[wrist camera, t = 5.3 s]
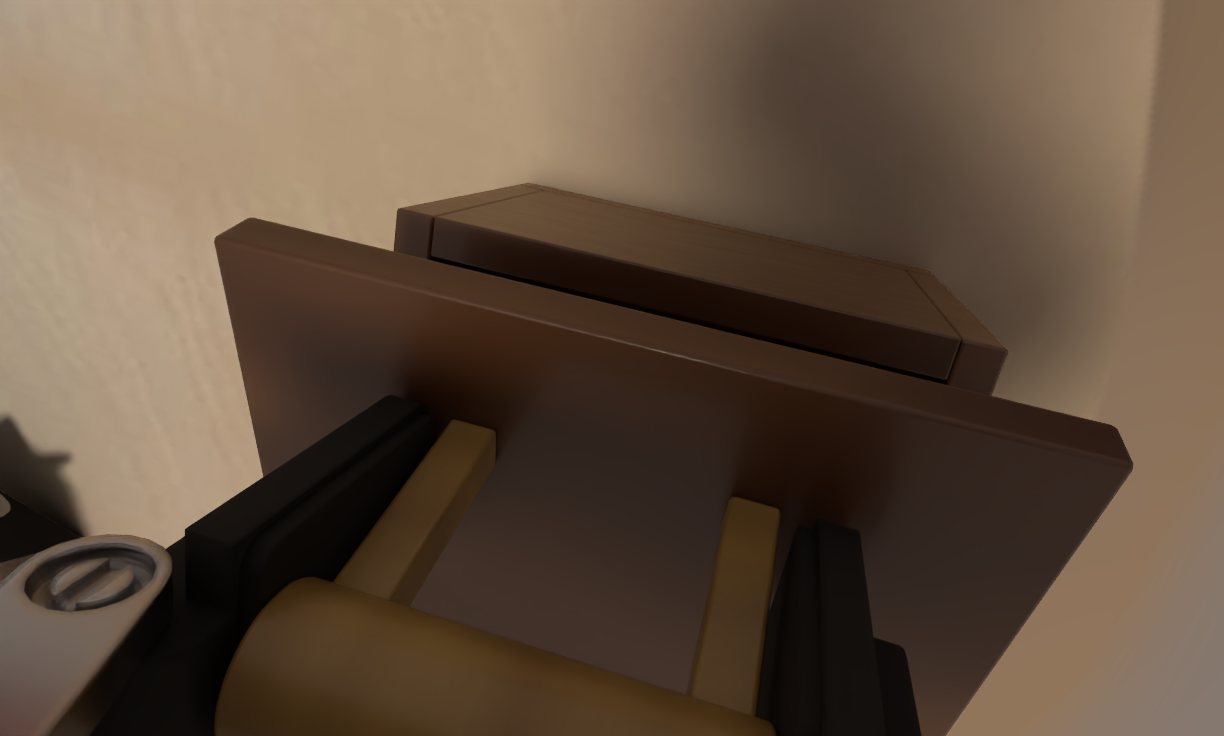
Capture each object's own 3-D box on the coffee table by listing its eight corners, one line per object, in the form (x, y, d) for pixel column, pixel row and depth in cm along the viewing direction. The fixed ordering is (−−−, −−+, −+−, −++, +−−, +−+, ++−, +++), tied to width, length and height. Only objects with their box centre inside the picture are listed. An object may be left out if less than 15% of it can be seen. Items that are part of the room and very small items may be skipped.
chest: (526, 182, 22) (396, 208, 15) (932, 271, 20) (1010, 350, 13) (467, 594, 27) (347, 765, 20) (790, 694, 25) (789, 923, 18)
